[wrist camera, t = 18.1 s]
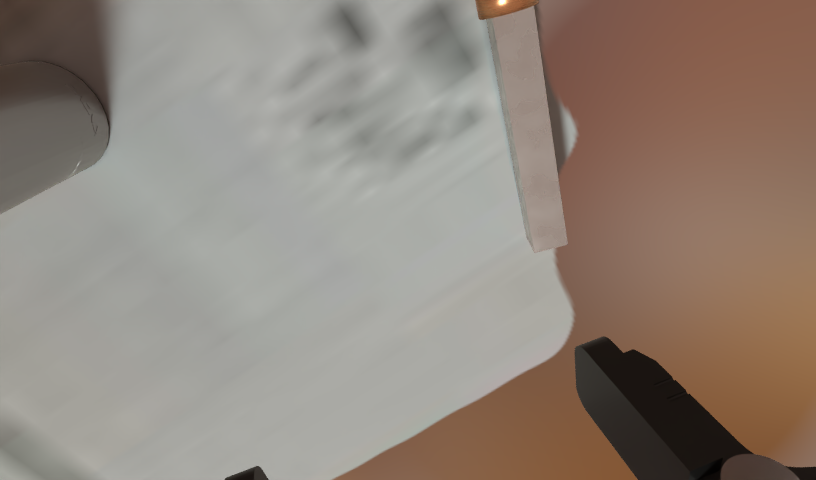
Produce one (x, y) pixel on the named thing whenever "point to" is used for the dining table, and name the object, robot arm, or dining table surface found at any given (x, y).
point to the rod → (526, 117)
